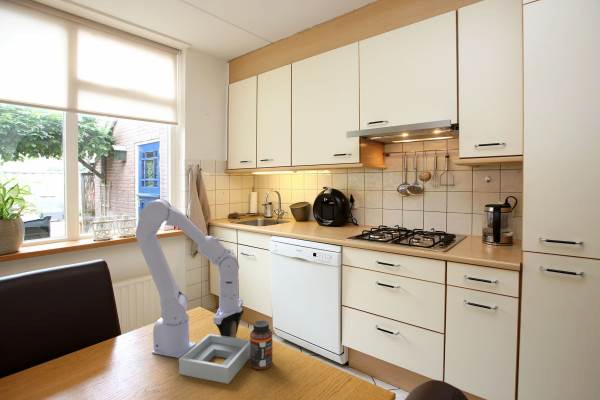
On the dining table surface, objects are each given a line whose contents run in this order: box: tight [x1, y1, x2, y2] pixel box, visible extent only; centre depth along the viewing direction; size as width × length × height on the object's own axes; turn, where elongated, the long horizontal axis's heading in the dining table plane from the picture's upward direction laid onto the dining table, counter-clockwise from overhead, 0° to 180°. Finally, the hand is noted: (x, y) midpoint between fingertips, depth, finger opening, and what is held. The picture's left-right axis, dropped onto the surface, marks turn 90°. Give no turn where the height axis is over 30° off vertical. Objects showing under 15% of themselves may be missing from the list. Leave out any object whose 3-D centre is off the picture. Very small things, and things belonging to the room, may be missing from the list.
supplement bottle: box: [249, 320, 273, 371], centre depth 87 cm, size 6×6×11 cm
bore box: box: [178, 333, 250, 385], centre depth 87 cm, size 14×14×4 cm
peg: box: [230, 321, 237, 338], centre depth 98 cm, size 4×4×6 cm
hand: (229, 337), depth 98 cm, fingers closed on peg, 4 cm apart
